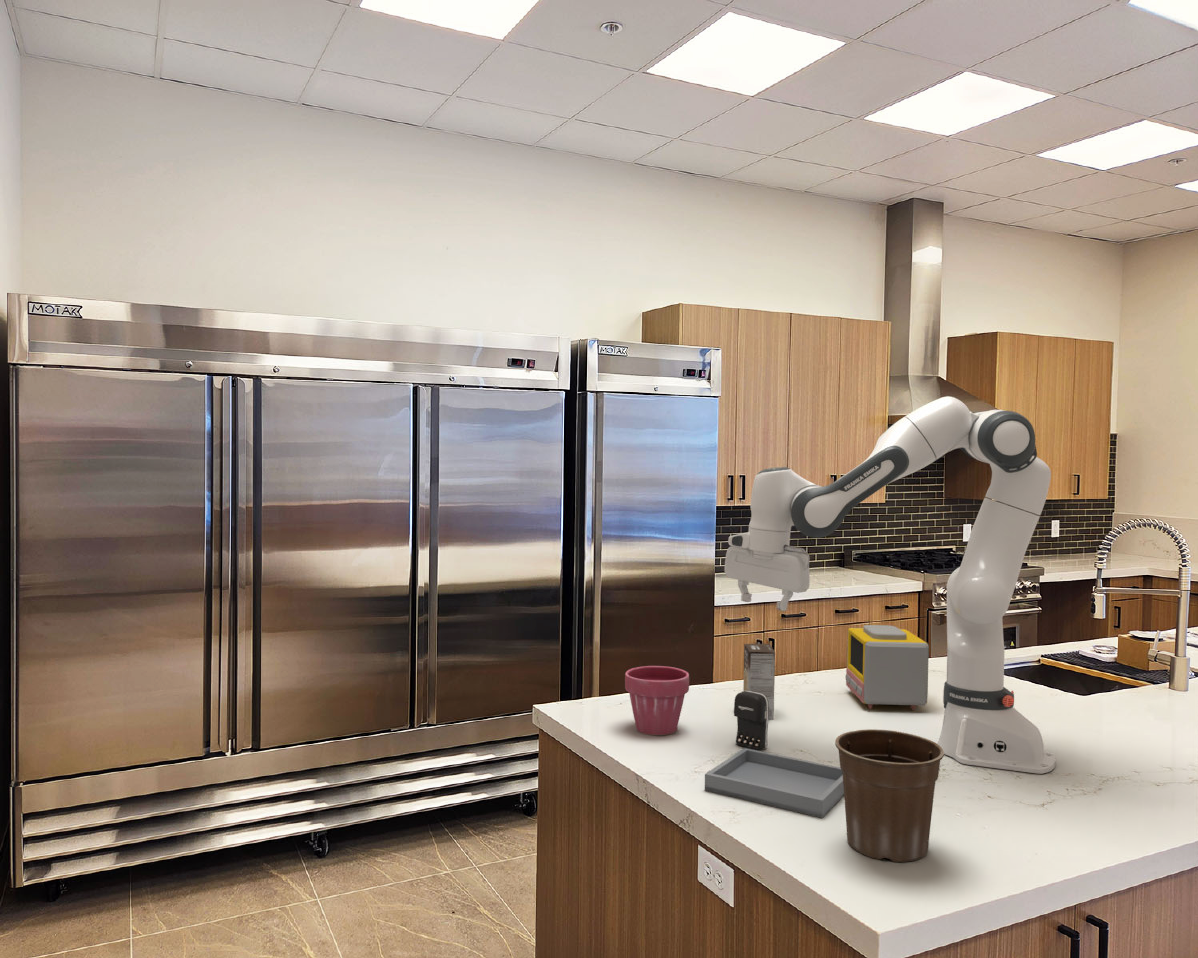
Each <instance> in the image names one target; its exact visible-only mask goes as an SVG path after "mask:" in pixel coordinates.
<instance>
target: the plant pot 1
mask: <svg viewBox="0 0 1198 958" xmlns="http://www.w3.org/2000/svg"><path fill="white" fill-rule="evenodd" d="M624 675H625V676H624V689H625V690H626V692H628V693H629V698H630V699H629V700H630V704H631V708H632V714H633V718H634V724H635V729H636V730H637V731H638V732H639V733H641V734H644V735H648V734H649V735H650V736H667V735H671V734H674V733H675V732H677V729H678V726H679V721H680V717H681V714H682V708H683V705H684V700H685V695H686V694H687V693H688V692H689V691H690V674H689V672H688V671H686V670H684V669H681V668H677V667H672V666H664V665H663V666H662V665H647V666H646V665H645V666H638V667H633V668H630V669H628V670H627V671H626V672H625V674H624Z"/></svg>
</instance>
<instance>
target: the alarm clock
mask: <svg viewBox="0 0 1198 958" xmlns="http://www.w3.org/2000/svg"><path fill="white" fill-rule="evenodd" d="M846 642H847V643H846V644H847V645H846V647H847V648H846V669H845V670H846V671H845V673H846V674H845V686H847V688H848V689H849V690H850V691H851V692H852V693H853V694H854V695H855V696H856V697H857V698H858V699H859V701H860V702H861V703H862V704H866V705H867V707H868V709H870V710H871V709H873V706H874V705H892V706H893V705H894V706H896V705H897V706H910V709H911V710H912V711H916V707H917V706H926V705H927V704H928V699H929V698H928V696H929V693H928V692H929V690H928V689H929V656H930V655H929V650H930V647H929V646H930V645H929V644H928V642H927V641H924V640H923V639H921V638H920V637H918V636H917V635H916V634H914V633H912V632H911V631H910V630H907V629H906V628H905V629H904V628H898V627H897V626H894V625H885V624H884V625H883V624H882V625H881V624H865V625H863V627H849V628H848V629H847V640H846Z"/></svg>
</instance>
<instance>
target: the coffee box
mask: <svg viewBox="0 0 1198 958" xmlns="http://www.w3.org/2000/svg"><path fill="white" fill-rule="evenodd" d="M743 647H744V649H743V686H742V687H743V689H742V691H743V692H744V691H752V692H757V693H761V694H764V695H765V696H766V697H767V698H768V703H769V716H768V720H774V717H775V716H774V715H775V714H774V713H775V675H776V674H775V673H776V651H775V650H774V649H773V646H772V645H771V644H770V643H744V644H743Z"/></svg>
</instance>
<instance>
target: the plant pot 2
mask: <svg viewBox="0 0 1198 958" xmlns="http://www.w3.org/2000/svg"><path fill="white" fill-rule="evenodd" d="M834 741H835V744H834V745H835V747H836V748H837V750H838V756H839V757H838V758H839V767H840V768H841V770H842V773H843V786H844V796H843V798H844V808H845V809H844V810H845V825H846V838H847V839H846V840H847V842H848V844H849V845H850V847H851V848H852V849H854V850H855V851H857V852H858V853H860V854H862V855H864V856H866V857H869V858H871V859H874V860H878V861H879V860H883V859H884V858H885V859H888V860H891V861H892V862H893V863H899V862H900V863H905V862H912V861H917V860H920V859H922V858H924V857H925V856H926V855H927V853H928V851H929V845H930V835H931V833H930V832H931V823H932V815H933V806H934V805H933V804H934V798H935V797H934V796H935V787H936V781H937V780H938V779H939V774H940V765H941V760H942V759H943V758H944V755H945V754H944V750H943V749H942V748H941V746H939V745H938V744H937V743H938V742H935V741H932V740H931V739H929V738H925V737H922V736H919V735H915V734H912V733H908V732H904V731H903V732H901V731H897V730H890V729H889V730H888V729H877V728H876V729H869V728H868V729H857V730H852V731H847V732H844V733H841V734H840V735H838V736H837V737H836V738H835V740H834Z"/></svg>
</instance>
